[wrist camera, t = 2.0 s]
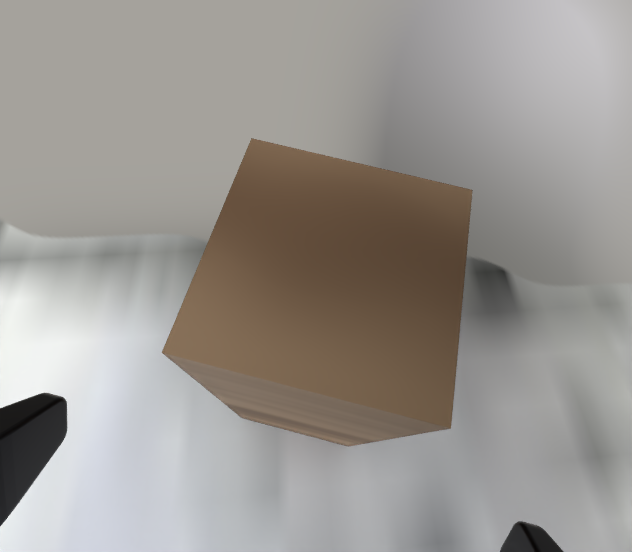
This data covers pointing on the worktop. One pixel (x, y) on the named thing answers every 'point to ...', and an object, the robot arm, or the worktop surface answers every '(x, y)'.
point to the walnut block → (329, 298)
